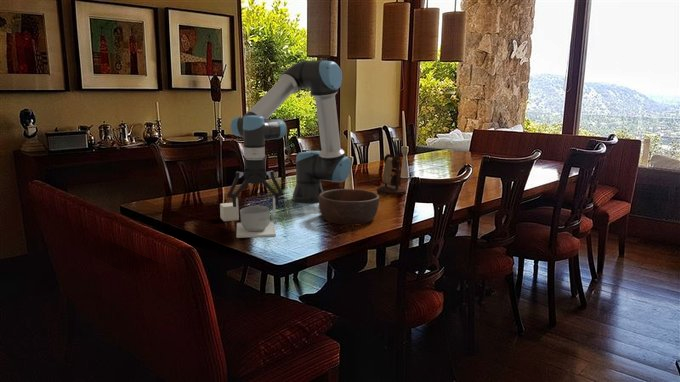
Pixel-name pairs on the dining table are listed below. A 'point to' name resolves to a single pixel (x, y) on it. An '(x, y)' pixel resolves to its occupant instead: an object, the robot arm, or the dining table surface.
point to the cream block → (228, 212)
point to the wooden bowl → (348, 206)
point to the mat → (263, 233)
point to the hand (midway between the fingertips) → (256, 214)
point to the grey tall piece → (391, 176)
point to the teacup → (255, 217)
